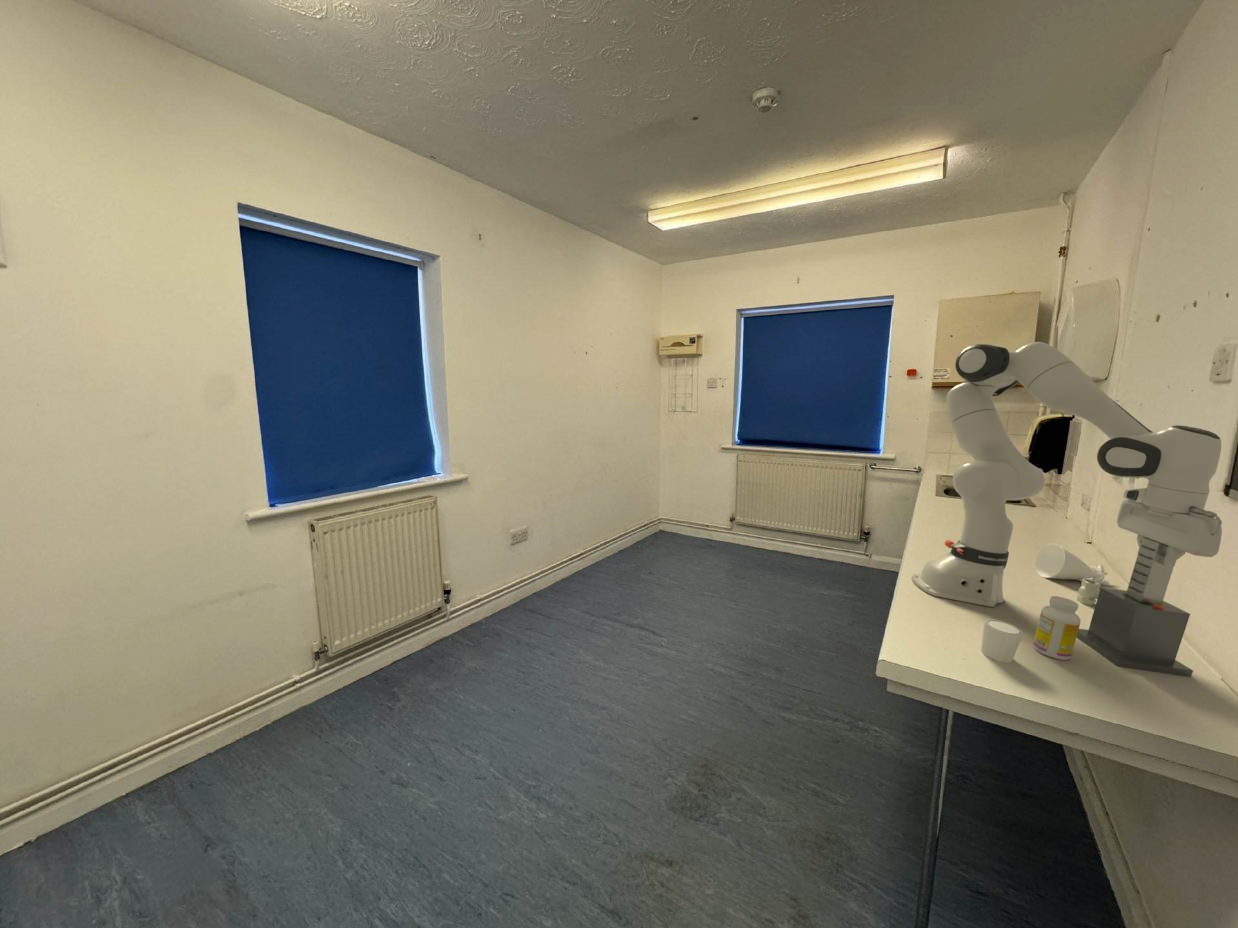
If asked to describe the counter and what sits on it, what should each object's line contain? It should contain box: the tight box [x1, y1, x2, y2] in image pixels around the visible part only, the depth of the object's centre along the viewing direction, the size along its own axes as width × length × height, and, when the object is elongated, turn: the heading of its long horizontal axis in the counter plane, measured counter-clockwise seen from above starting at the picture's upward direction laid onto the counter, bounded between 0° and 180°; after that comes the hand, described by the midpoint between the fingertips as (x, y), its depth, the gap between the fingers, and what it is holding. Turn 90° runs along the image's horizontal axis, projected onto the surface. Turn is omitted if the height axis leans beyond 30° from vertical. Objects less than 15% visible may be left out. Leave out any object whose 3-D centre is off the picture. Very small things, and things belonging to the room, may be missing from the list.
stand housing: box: [1076, 587, 1194, 678], centre depth 111 cm, size 14×14×14 cm
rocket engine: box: [1034, 543, 1110, 587], centre depth 155 cm, size 12×12×18 cm
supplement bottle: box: [1032, 595, 1081, 661], centre depth 109 cm, size 7×7×13 cm
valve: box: [1076, 578, 1102, 607], centre depth 136 cm, size 7×7×12 cm
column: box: [1125, 538, 1174, 605], centre depth 109 cm, size 4×4×20 cm
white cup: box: [980, 618, 1024, 664], centre depth 107 cm, size 7×7×7 cm
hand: (1155, 560), depth 108 cm, fingers closed on column, 4 cm apart
